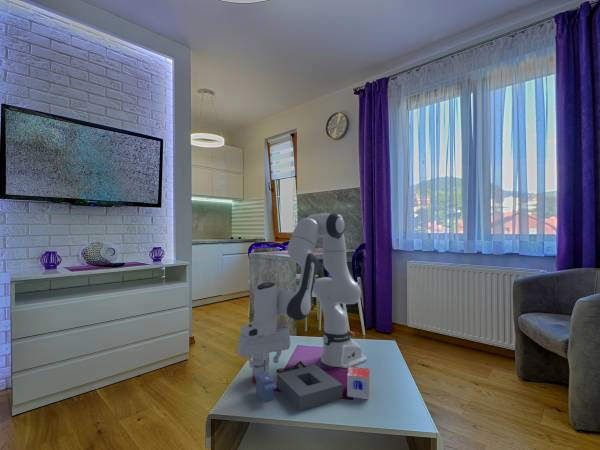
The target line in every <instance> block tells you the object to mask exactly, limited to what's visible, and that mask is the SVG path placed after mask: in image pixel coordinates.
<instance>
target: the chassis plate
mask: <svg viewBox="0 0 600 450" xmlns="http://www.w3.org/2000/svg"><path fill="white" fill-rule="evenodd" d="M276 386H277V389H279V390H280V392H281V393H282V394H283V395H284V396H285V397H286V398H287V399H288V400H289V402H290V403H291V404H292V406H294V407H295V408H296V409H297V410H298V411H299V412H301V411H304V410H307V409H311V408H315V407H318V406H320V405H324V404H327V403H331V402H334V401H337V400H341V399H343V384H342V383H341V382H340V381H338V379H335V378H334V377H333V376H331V374H329V373H327V372H326V371H325V370H324V369H322V368H321V367H319V366H318V365H316V364H312V365H309V366H306V367H304V368H300V369H296V370H291V371H287V372H283V373H278V372H277V373H276Z"/></svg>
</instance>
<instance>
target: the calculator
mask: <svg viewBox="0 0 600 450" xmlns="http://www.w3.org/2000/svg"><path fill="white" fill-rule="evenodd" d="M304 367H307V366H306V365H305V364H304V363H303V362H302V361H301V360H300V361H298V362H297V363H296V364H294V365H293V366H290V367H284V368H283V367H282V368H277V369H276V372H277V374H278V373H283V372H287V371H291V370H296V369H300V368H304Z"/></svg>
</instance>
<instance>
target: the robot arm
mask: <svg viewBox="0 0 600 450" xmlns="http://www.w3.org/2000/svg"><path fill="white" fill-rule="evenodd" d="M345 230H346V221H345V218H344V217H343V216H342V215H341V214H339V213H337V212H336V213H334V212H333V213H329V212H328V213H327V212H324V213H323V212H321V213H315V214H307V215H305V216H303V218H301V219H299V220H298V223H297V224H296V226H295V228H294V230H293V232H292V234H291V236H290V240H289V242H288V244H287V245H288V246H287V254H288V257H290V259H291V260H292V261H293V262H295V264H298V265H299V266H300V271H301V272H300V278H299V281H298V282H299V283H298V287H297V290H296V291H293V290H292V291H291V290H288V289H284V288H282V287H279V286H278V285H277V284H276V283H275V282H269V281H268V282H262V283H260V284H259V285H258V284H257V286H256V288H255V290H254V296H253V298H254V299H253V309H254V314H253V319H252V321H251V322H248V323H246V324H244V325H242V326H241V327H240V335H239V336H238V339H237V346H236V347H237V348H236V352H237V355H238V356H240V357H241V358H245V357H246V358H247V360H248V362H249V365H248V366H249V368H252V367H255V362H254V361H253V355H258V354H264V353H269V354H270V353H274V352H275V353H276V354H275V356H273V357H272V362H273V363H274V364H277V363H279V358H280V357H281V354H282V351H286V350H289V349H290V347H291V337H290V333H291V327H290V326H289V325H288V324H278V315H281V316H283V317H284V316H285V317H287V318H290V319H292V320H295V321H297V322H300V321H302V320H304V319H306V318H307V317H308V316H309V315H310V313H311V311H312V304H313V302H312V301H313V293H314V295H315V297H316V298H317V300H318V301H319V303H320V305H321V309H322V313H323V325H324V326H323V328H324V329H323V331H322V332H323V334H322V340H323V346H322V351H321V357H320V362H321V363H322V364H324V365H326V366H329V367H334V368H335V367H336V368H343V369H349V366H350V367H355V366H357V365H359V364H361V363H364V362H366V361H367V356H366V355H365V354H363V352H362V347H361V346H360V344H359V343H358V342H356V341H355V340H353V339H352V338H351V337H355V332H353V331H351V330H350V331H349V330H348V314H347V312H346V311H345V310H344V309H343V308H342V306H341V304H342V305H355V304H357V303H358V302H359V300H361V299H360V298H361V296H362V290H361V287H360V285H359V284H358V283H357V282H356V281H355V280H354V278H353V277H352V275H351V273H350V270H349V267H348V262H347V246H346V239H345V233H344V232H345ZM318 238H319V239H322V262H323V268H324V269H325V271H327V272H328V273H329V274H330V277H327V276H324V277H319V278H318V277H317V278H316V271H317V261H318V260H317V257H316V255H315V249H316V245H317V242H318ZM315 278H316V280H315Z"/></svg>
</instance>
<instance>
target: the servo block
mask: <svg viewBox="0 0 600 450" xmlns="http://www.w3.org/2000/svg"><path fill="white" fill-rule="evenodd" d="M254 377H255V378H256V382H255V387H256V388H255V394H256V395H257V396H258V397H259V399H260V401H261V402H262V403H265V402H268V401H273V400H274V390H276V389H278V387H277V384H276V383H275V382H274V379H273V378H272V376H271V375H270V374H269V375H268V374H267V373H264V372H259V373H254Z"/></svg>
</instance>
